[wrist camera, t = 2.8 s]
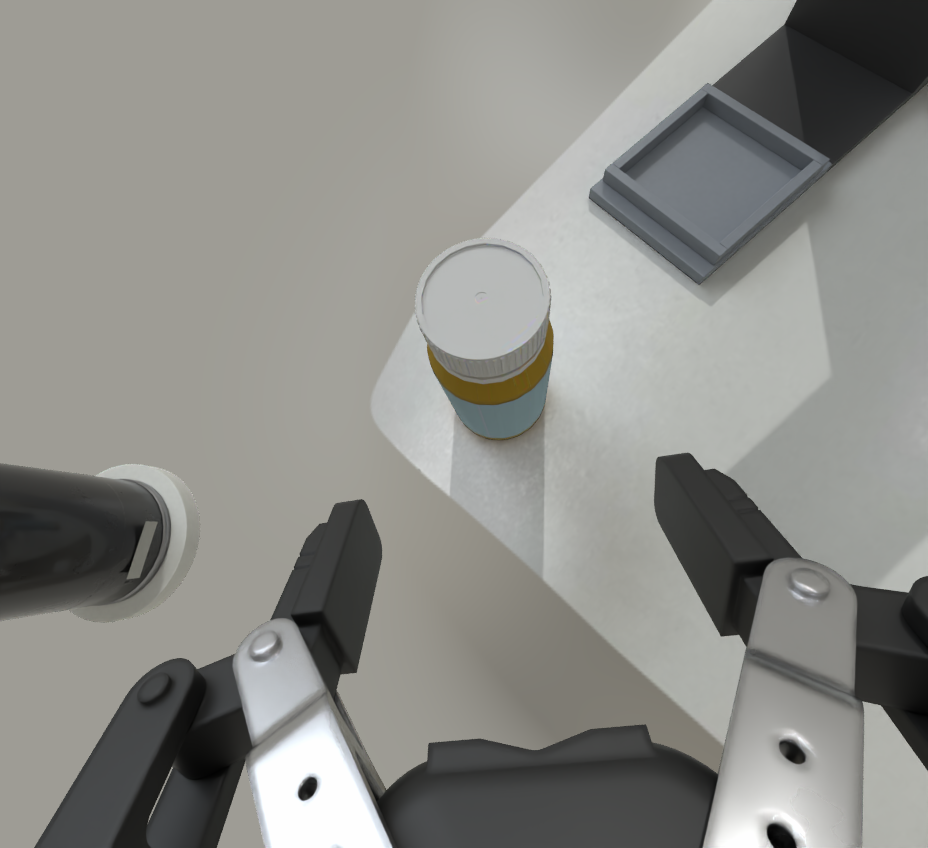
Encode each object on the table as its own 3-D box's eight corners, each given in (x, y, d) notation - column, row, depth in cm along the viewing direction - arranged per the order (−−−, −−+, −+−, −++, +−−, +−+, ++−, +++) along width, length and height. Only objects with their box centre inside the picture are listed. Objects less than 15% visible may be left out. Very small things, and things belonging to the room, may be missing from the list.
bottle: (452, 439, 33) (397, 368, 19) (459, 355, 35) (413, 231, 20) (543, 443, 32) (559, 371, 18) (546, 357, 34) (562, 226, 19)
